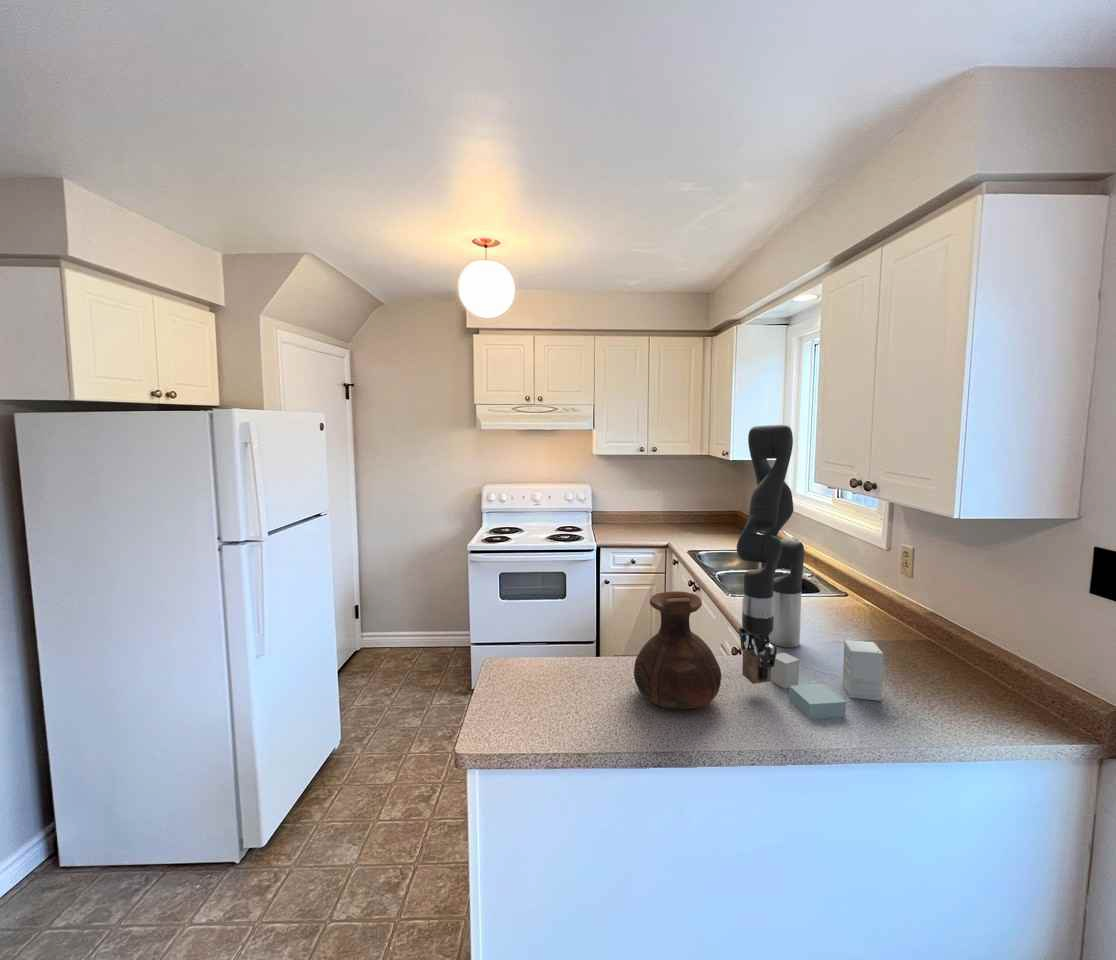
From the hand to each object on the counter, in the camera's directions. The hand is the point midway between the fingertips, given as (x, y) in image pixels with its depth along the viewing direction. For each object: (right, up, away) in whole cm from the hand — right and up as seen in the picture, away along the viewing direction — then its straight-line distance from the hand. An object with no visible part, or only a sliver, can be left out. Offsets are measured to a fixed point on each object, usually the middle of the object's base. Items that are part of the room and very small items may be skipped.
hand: (756, 674), depth 136 cm
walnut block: (0, -1, 0) cm, 1 cm away
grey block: (+10, -5, +6) cm, 12 cm away
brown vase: (-21, -6, -2) cm, 22 cm away
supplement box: (+27, -5, 0) cm, 28 cm away
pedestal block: (+12, -6, -7) cm, 15 cm away
